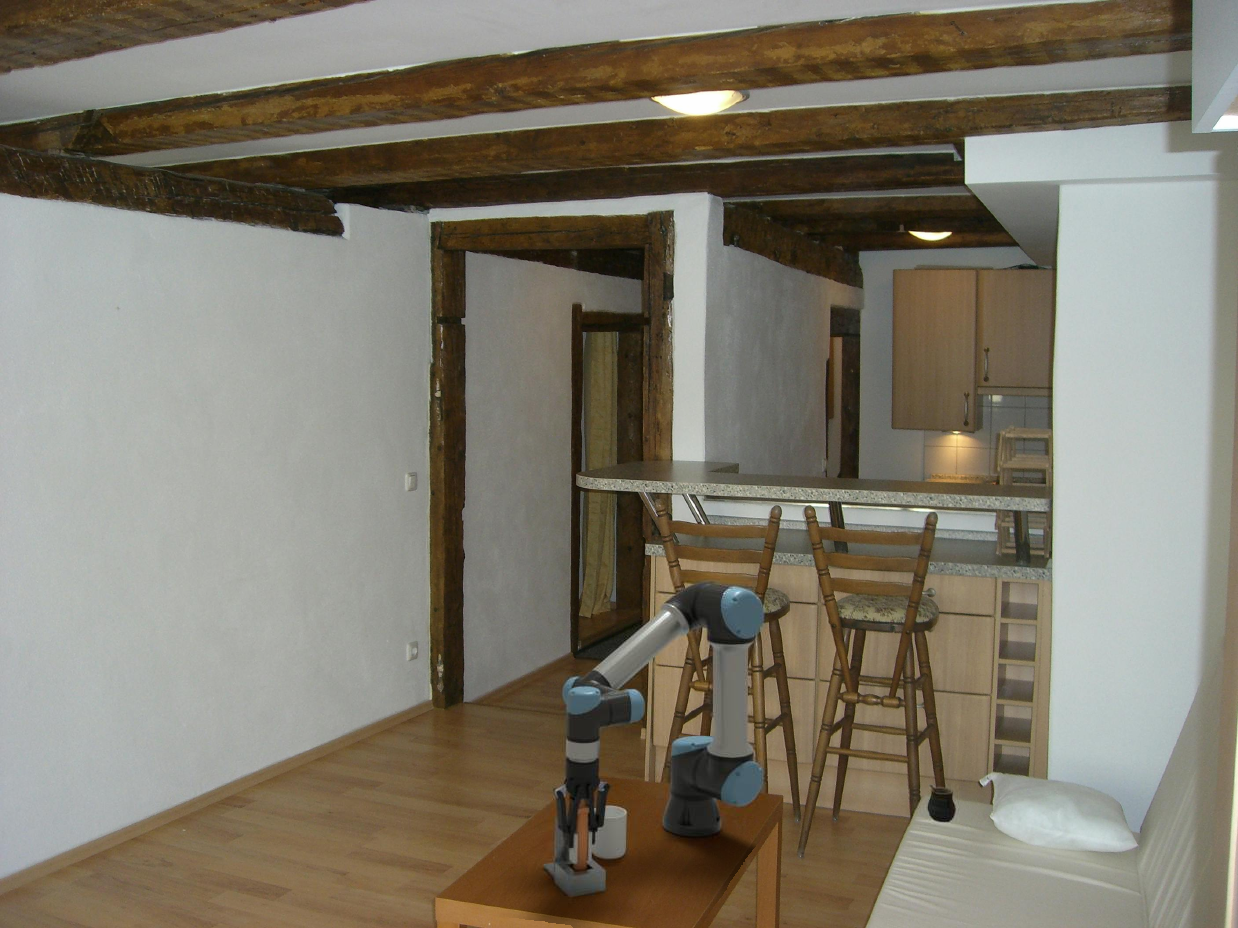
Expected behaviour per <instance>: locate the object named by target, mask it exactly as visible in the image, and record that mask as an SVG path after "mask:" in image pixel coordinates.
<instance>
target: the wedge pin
mask: <svg viewBox="0 0 1238 928" xmlns="http://www.w3.org/2000/svg"><path fill="white" fill-rule="evenodd" d="M588 813H589V807H587V806H586V805H585V804H584V805H582V804H581V805H579V808H578V815H577V821H576V828H575V833H576V834H578V854H577V863H576V864H574V872H578V871H584V870H587V843H588Z"/></svg>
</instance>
